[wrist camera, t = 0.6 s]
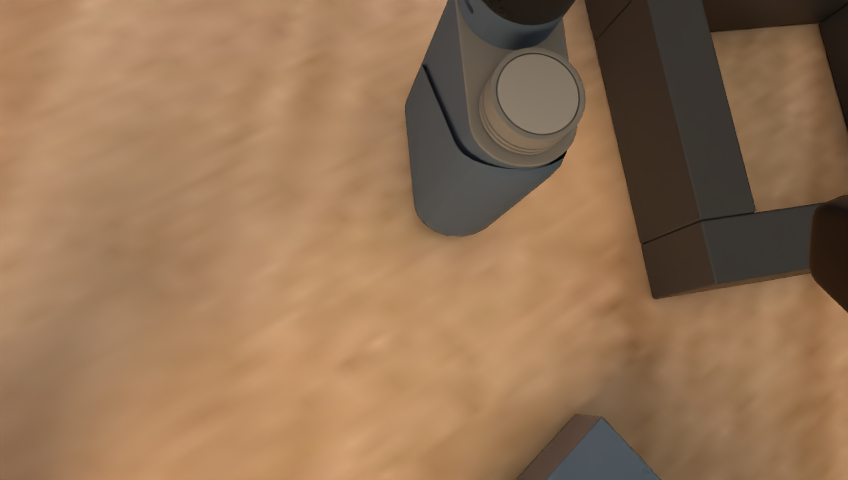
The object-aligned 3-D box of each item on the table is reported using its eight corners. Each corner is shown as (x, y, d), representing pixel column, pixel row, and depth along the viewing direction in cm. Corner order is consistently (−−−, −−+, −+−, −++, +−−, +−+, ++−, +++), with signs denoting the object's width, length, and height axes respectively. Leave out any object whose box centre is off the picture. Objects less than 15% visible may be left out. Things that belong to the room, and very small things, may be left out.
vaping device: (477, 79, 23) (665, -226, 12) (495, 240, 22) (719, 80, 11) (398, 80, 23) (512, -237, 11) (413, 244, 22) (555, 82, 10)
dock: (927, 253, 25) (1027, 232, 22) (652, 300, 23) (715, 284, 19) (846, -25, 27) (926, -85, 23) (582, -7, 25) (629, -70, 21)
